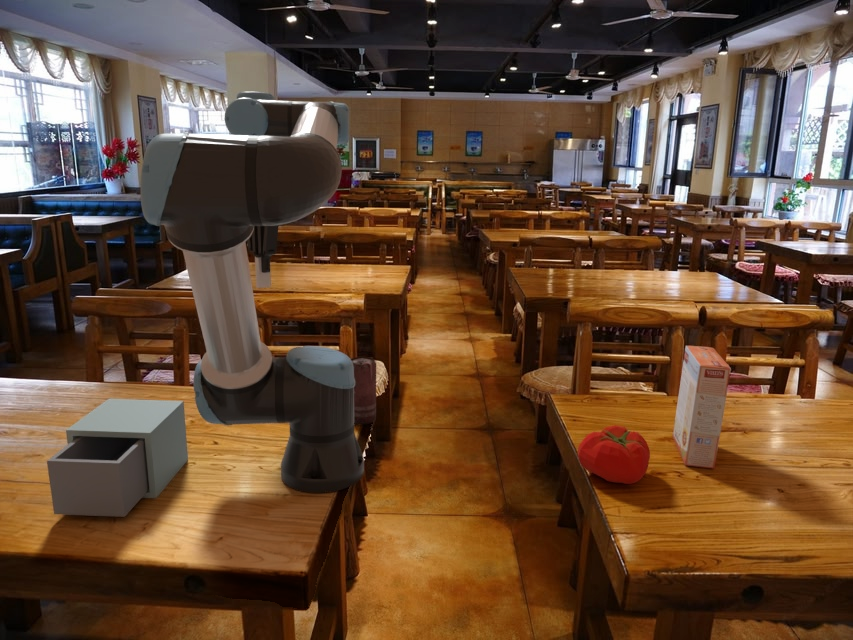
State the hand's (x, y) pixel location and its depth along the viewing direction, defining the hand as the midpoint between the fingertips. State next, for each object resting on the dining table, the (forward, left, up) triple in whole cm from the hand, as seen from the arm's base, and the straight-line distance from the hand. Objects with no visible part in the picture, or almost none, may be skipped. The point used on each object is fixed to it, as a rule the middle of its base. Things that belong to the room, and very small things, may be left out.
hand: (263, 286), depth 135 cm
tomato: (-66, -36, -30) cm, 81 cm away
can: (-15, -15, -30) cm, 36 cm away
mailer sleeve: (-10, +32, -29) cm, 45 cm away
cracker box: (-70, -58, -30) cm, 96 cm away
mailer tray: (-12, +34, -28) cm, 46 cm away
